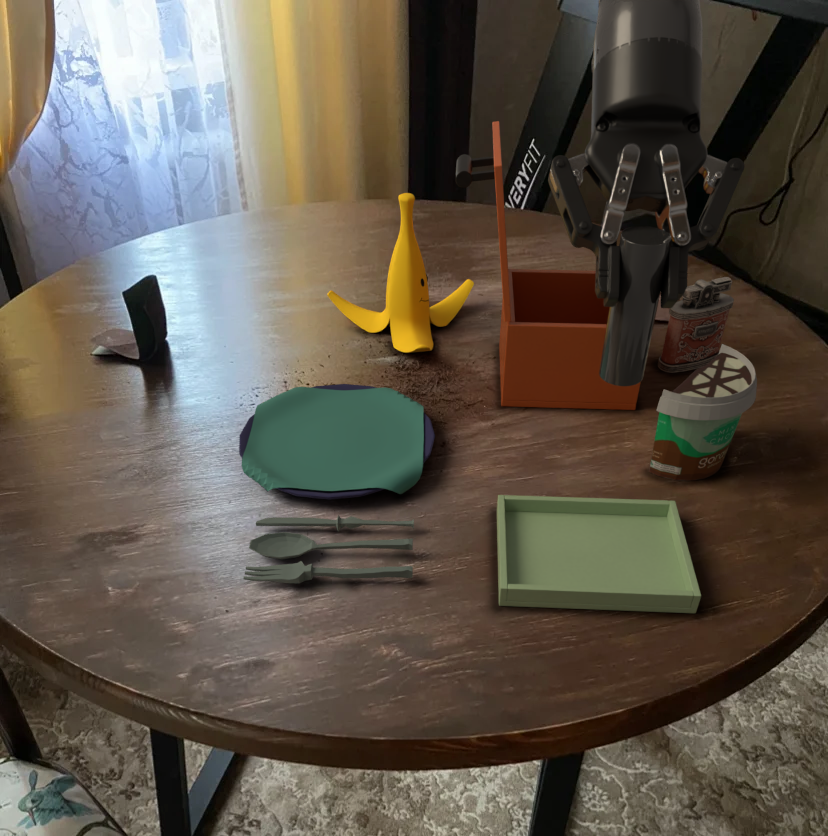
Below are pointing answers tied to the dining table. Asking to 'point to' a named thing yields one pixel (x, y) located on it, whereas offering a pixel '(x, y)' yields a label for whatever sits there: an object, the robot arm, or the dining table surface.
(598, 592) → the tray
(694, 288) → the lighter
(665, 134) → the robot arm
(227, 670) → the dining table surface
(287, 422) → the cutlery set
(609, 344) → the black cylinder
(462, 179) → the box lid
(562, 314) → the orange open box
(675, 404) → the food container
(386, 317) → the banana peel
